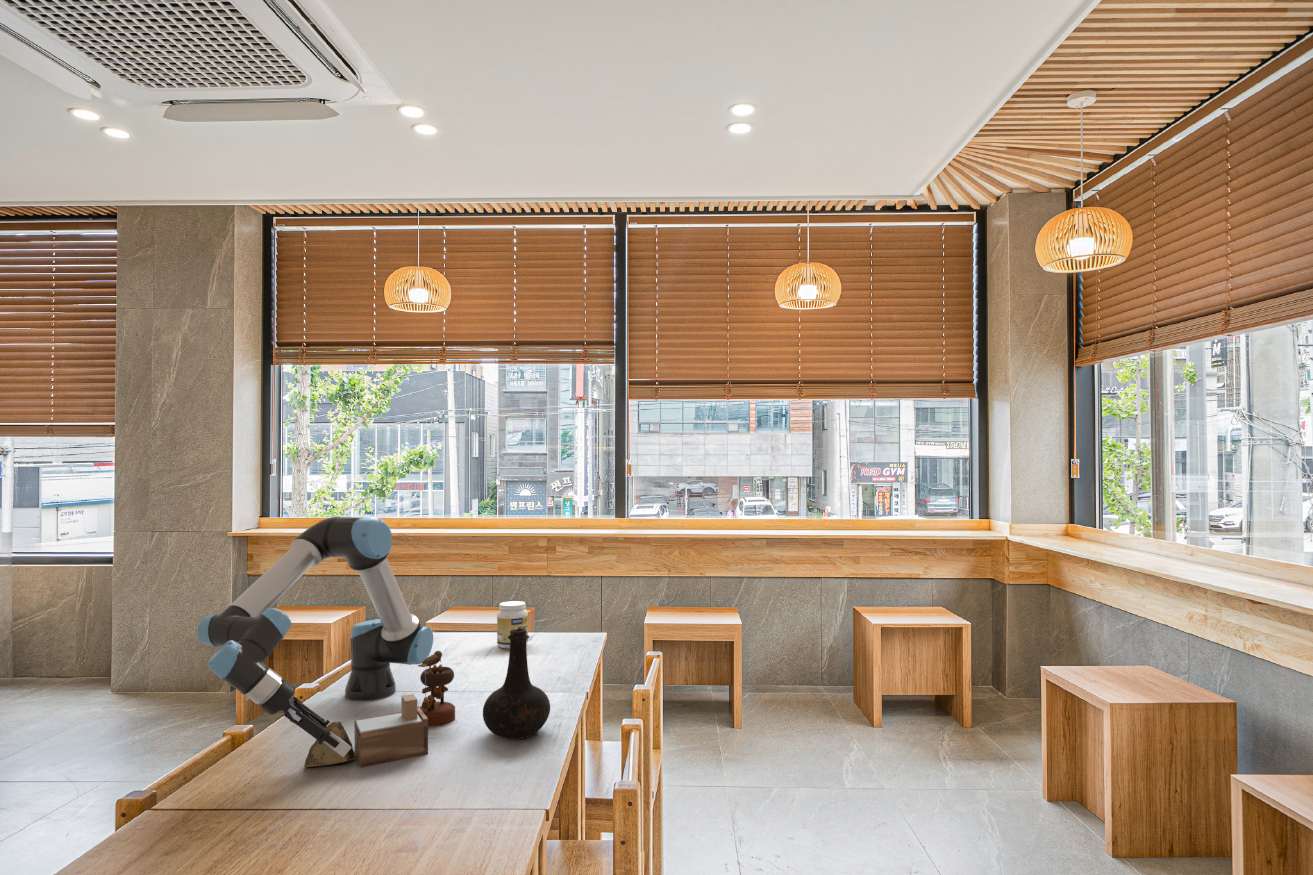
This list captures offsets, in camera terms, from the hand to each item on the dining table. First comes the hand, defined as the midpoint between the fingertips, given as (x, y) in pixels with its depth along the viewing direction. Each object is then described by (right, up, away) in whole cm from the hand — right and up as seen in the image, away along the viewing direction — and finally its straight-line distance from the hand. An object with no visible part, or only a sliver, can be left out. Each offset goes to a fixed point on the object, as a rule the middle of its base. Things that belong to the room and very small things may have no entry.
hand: (345, 748), depth 180 cm
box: (+9, -4, +5) cm, 11 cm away
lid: (+9, +4, +5) cm, 11 cm away
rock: (-4, -3, -2) cm, 5 cm away
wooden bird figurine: (+14, -5, +30) cm, 33 cm away
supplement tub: (+19, -7, +113) cm, 115 cm away
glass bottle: (+39, -4, +18) cm, 43 cm away
